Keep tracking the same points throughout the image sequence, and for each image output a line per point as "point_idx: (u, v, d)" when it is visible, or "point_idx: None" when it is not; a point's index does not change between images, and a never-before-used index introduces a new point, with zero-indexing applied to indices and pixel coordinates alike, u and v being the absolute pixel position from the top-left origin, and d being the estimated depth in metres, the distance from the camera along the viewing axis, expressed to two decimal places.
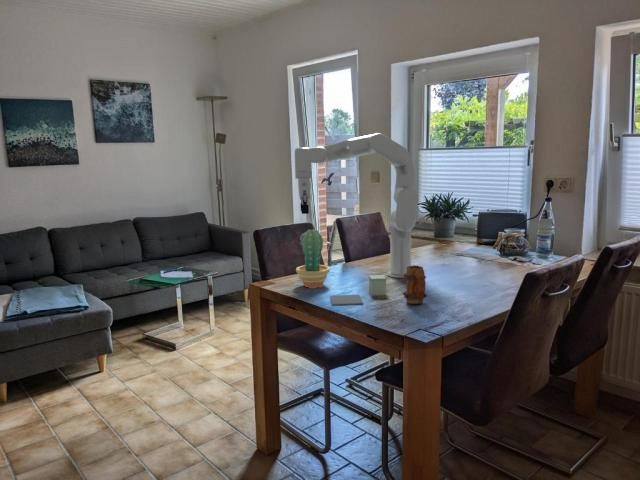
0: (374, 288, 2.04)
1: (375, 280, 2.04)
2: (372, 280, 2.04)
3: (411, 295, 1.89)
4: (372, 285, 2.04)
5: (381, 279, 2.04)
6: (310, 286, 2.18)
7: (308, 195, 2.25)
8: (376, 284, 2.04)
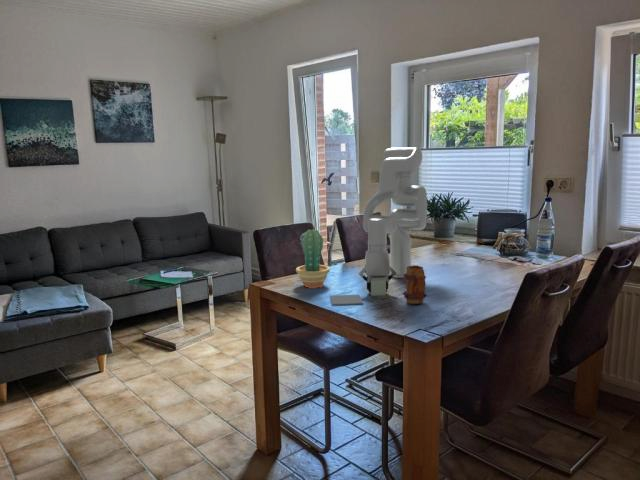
0: (374, 288, 2.04)
1: (375, 280, 2.04)
2: (372, 280, 2.04)
3: (411, 295, 1.89)
4: (372, 285, 2.04)
5: (381, 279, 2.04)
6: (310, 286, 2.18)
7: None
8: (376, 284, 2.04)
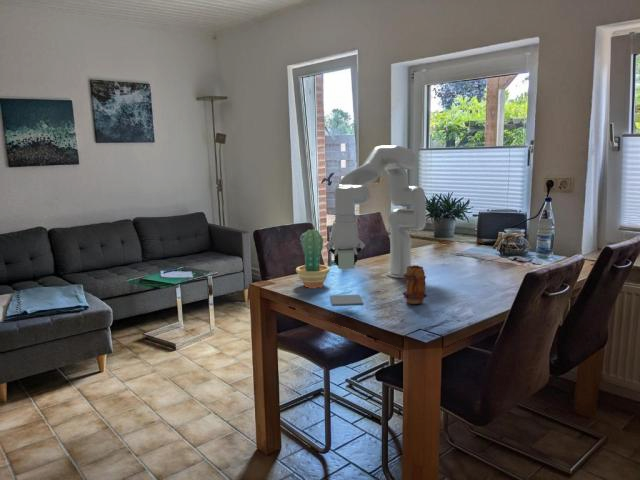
0: (342, 261, 1.93)
1: (342, 252, 1.92)
2: (339, 252, 1.92)
3: (411, 295, 1.89)
4: (339, 258, 1.92)
5: (349, 251, 1.92)
6: (310, 286, 2.18)
7: None
8: (344, 256, 1.92)
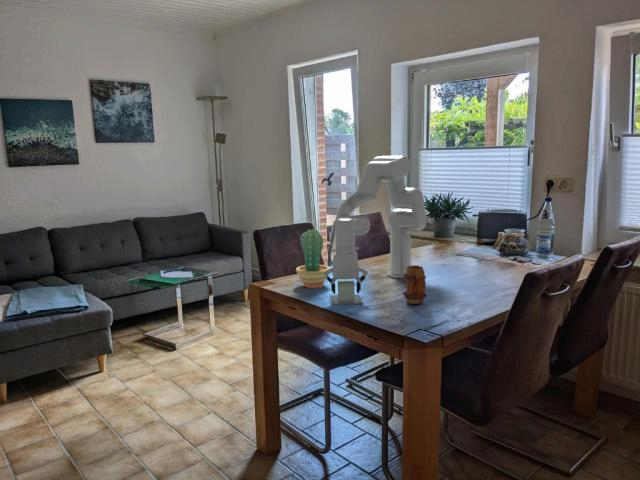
0: (342, 293, 1.95)
1: (343, 285, 1.94)
2: (340, 285, 1.94)
3: (411, 295, 1.89)
4: (339, 291, 1.95)
5: (349, 284, 1.94)
6: (310, 286, 2.18)
7: None
8: (344, 289, 1.95)
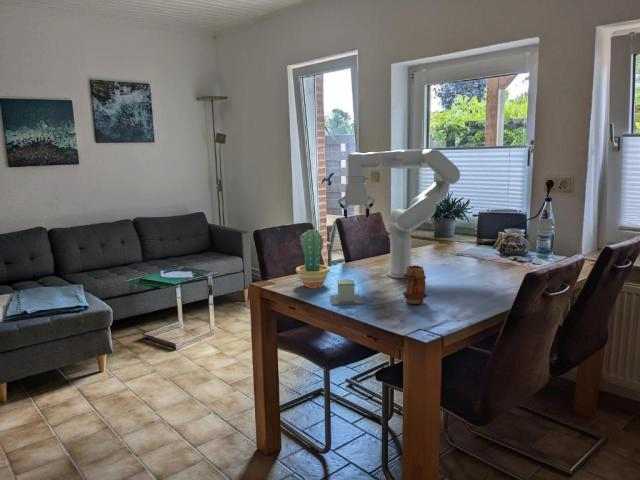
0: (342, 293, 1.95)
1: (343, 285, 1.94)
2: (340, 285, 1.94)
3: (411, 295, 1.89)
4: (339, 291, 1.95)
5: (349, 284, 1.94)
6: (310, 286, 2.18)
7: None
8: (344, 289, 1.95)
